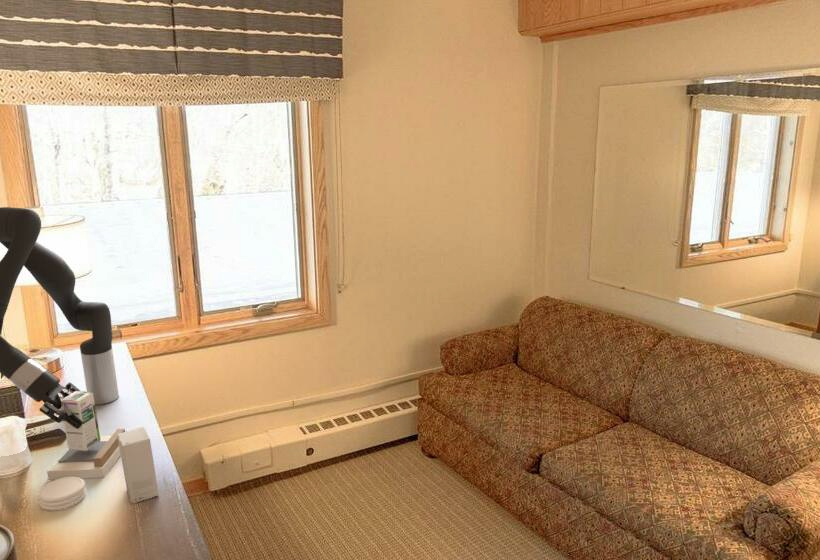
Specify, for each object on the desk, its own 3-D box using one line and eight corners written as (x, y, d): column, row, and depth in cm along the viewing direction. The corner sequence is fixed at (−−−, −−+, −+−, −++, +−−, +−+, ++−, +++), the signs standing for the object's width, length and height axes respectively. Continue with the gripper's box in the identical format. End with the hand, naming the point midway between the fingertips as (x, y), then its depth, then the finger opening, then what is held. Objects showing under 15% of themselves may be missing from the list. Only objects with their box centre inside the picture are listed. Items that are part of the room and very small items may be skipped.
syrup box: (86, 451, 168) (79, 400, 164) (67, 449, 169) (59, 399, 165) (101, 440, 173) (93, 391, 169) (82, 438, 174) (74, 390, 171)
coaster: (38, 516, 148) (36, 503, 148) (42, 494, 157) (39, 481, 156) (86, 505, 153) (84, 492, 152) (87, 484, 161) (85, 472, 160)
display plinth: (80, 444, 181) (77, 428, 179) (130, 442, 181) (127, 427, 180) (48, 479, 163) (45, 462, 162) (104, 477, 164) (101, 460, 163)
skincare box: (159, 496, 155) (151, 439, 151) (130, 505, 152) (121, 446, 148) (152, 480, 162) (145, 425, 158) (124, 489, 159) (116, 432, 155)
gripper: (29, 381, 158) (83, 422, 162) (57, 360, 172) (106, 398, 176) (10, 401, 159) (65, 442, 163) (40, 379, 173) (89, 417, 177)
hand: (86, 419), depth 169 cm, fingers closed on syrup box, 6 cm apart
